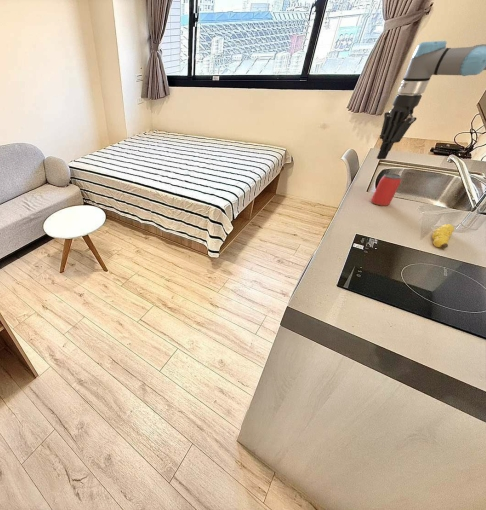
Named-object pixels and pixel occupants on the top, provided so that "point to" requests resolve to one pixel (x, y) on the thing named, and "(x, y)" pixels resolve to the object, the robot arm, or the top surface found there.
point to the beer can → (386, 189)
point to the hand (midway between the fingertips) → (381, 158)
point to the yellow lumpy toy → (442, 235)
